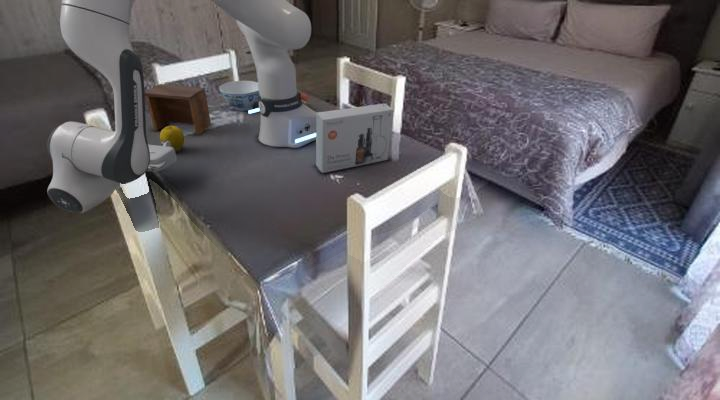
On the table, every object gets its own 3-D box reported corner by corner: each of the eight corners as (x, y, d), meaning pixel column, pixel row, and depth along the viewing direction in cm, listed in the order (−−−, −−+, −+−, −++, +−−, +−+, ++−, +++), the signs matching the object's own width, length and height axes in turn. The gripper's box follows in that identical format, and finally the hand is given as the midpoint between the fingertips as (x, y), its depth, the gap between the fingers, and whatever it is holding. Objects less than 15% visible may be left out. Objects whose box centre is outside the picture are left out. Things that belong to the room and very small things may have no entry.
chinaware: (272, 106, 148) (271, 85, 144) (243, 118, 137) (240, 96, 133) (243, 98, 154) (241, 78, 150) (213, 108, 143) (209, 87, 139)
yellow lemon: (175, 157, 111) (169, 130, 107) (158, 152, 113) (151, 126, 109) (192, 148, 116) (186, 122, 112) (175, 144, 118) (169, 118, 114)
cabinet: (169, 120, 133) (160, 83, 126) (211, 124, 131) (204, 87, 125) (153, 131, 125) (142, 92, 118) (197, 135, 124) (189, 97, 117)
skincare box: (323, 174, 106) (322, 119, 97) (315, 166, 110) (314, 111, 101) (389, 160, 115) (394, 108, 106) (380, 152, 119) (384, 101, 110)
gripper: (154, 158, 89) (185, 134, 101) (72, 149, 91) (112, 126, 103) (160, 182, 93) (190, 156, 104) (81, 172, 95) (119, 148, 106)
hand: (151, 141), depth 104 cm, fingers open, 8 cm apart
